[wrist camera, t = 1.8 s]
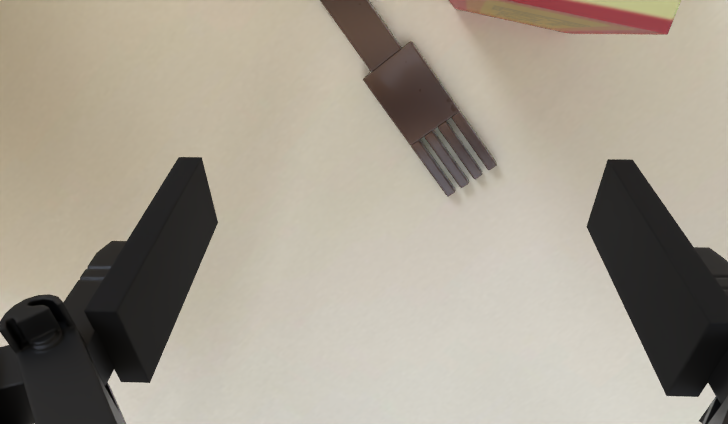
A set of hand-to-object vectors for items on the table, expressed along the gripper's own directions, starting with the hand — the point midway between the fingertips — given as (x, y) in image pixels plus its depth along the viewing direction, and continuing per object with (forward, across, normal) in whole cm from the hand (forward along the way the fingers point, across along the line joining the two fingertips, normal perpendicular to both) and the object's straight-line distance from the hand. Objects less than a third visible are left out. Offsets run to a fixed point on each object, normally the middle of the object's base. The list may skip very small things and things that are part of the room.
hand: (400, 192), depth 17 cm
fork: (+17, -2, 0) cm, 17 cm away
